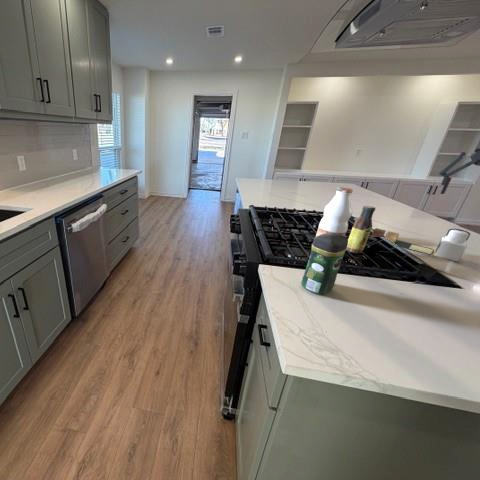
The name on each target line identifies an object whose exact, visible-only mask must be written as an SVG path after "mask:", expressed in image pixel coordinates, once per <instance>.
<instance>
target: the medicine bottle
mask: <svg viewBox="0 0 480 480" xmlns="http://www.w3.org/2000/svg"><path fill="white" fill-rule="evenodd" d="M470 236H471V233H470V232H469V231H467V230H465V229H460V228H450V229H448V230H447V233H446V234H445V236H442V237H441V239H440V241H439V242H438V244H437V247H436V249H435V250H434V256H435V257H439V258H443V259H446V260H447V259H448V260H449V261H452V262H457V263H459V262H460V260H461V259H462V257H463V255H464V254H465V251H466V250H467V248H468V243H467V241H468V240H469V238H470Z"/></svg>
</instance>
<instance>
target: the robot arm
mask: <svg viewBox="0 0 480 480" xmlns="http://www.w3.org/2000/svg"><path fill="white" fill-rule="evenodd" d="M468 157H470V159H471V160H470V161H468V162H466V163H464V164H463V165H461V166H459V167H457V168H455V169H453V168H454V167H455V166H456V165H458V164H459V163H460V162H462V160H464V159H467V158H468ZM472 165H475V166H476V167H477V166H478V167H480V140H479V141H478V143H477V145H476V147H475V149H474V151H472V152H466V151H462V152H460V153H459V155H458V156H457V158H455V160H453V161H452V162H450V164H449V165H447V166H446V167H445V168H444V169H443V170H441V171H440V172H439V173H438V174H439V175H440V176H441V177H443V179H442V181H441V183H440V184H441V186H443V187H442V189H441V191H440V194H441V195H444V194H446V192H447V189H448V187H449V185H450V183H451V181H452V179H453V177H451V176H453V175H455V174H457V173H458V172H461V171H463V170H465V169H466V168H468V167H471V166H472ZM452 169H453V170H452ZM450 170H452V171H450ZM447 172H448V173H447Z"/></svg>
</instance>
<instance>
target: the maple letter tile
mask: <svg viewBox="0 0 480 480" xmlns="http://www.w3.org/2000/svg"><path fill="white" fill-rule="evenodd" d="M399 236H400V233H398V232H393V231H391V230H389V231H386V232H385V235H384V237H385V238H386V239H388V240H390V241H392V242H394V243H395V242H396V241H397V240H398V239H399Z"/></svg>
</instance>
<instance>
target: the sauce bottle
mask: <svg viewBox="0 0 480 480" xmlns="http://www.w3.org/2000/svg"><path fill="white" fill-rule="evenodd" d="M375 211H376V207H375V206H373V205H372V206H371V205H363V206H362V210H361V213H360V216H359V217H357V218H356V219H355V220H354V223H353V226H352V227H351V230H350V233H349V235H348V238H347V240H348V245H347V248H346V251H347V252H350V253H353V254H362V253H363V252H364V250H365V247H366V245H367V241H368V240H369V239H368V238H369V237H370V234H371V231H372V229H373V215H374V212H375Z"/></svg>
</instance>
